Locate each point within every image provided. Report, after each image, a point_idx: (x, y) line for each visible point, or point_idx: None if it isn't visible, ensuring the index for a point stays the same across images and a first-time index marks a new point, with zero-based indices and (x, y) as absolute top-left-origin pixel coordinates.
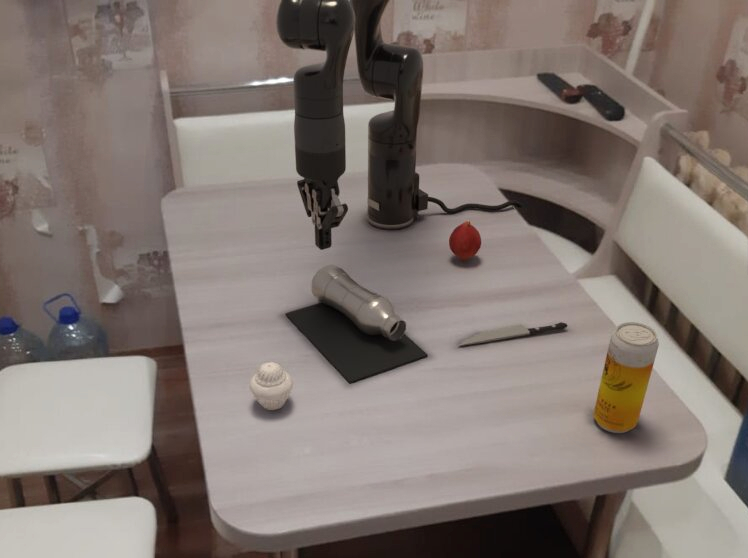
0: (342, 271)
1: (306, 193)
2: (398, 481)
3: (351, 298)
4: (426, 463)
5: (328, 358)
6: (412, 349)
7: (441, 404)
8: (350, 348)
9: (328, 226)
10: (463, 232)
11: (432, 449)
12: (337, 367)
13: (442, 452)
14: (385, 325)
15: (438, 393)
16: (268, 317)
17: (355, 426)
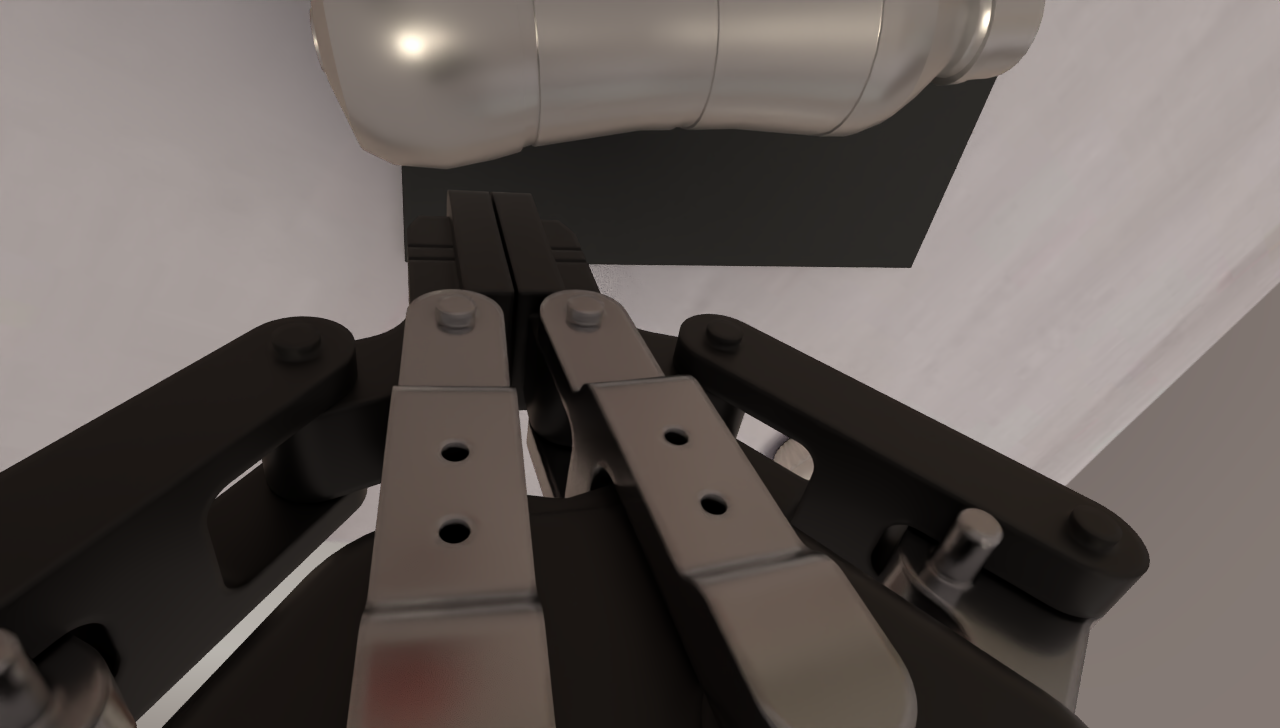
0: (492, 2)
1: (132, 687)
2: (1169, 337)
3: (738, 114)
4: (1211, 263)
5: (779, 265)
6: None
7: (1194, 83)
8: (796, 168)
9: (756, 457)
10: None
11: (1214, 225)
12: (835, 264)
13: (1239, 211)
14: (971, 78)
15: (1171, 50)
16: (383, 318)
17: (1013, 332)
